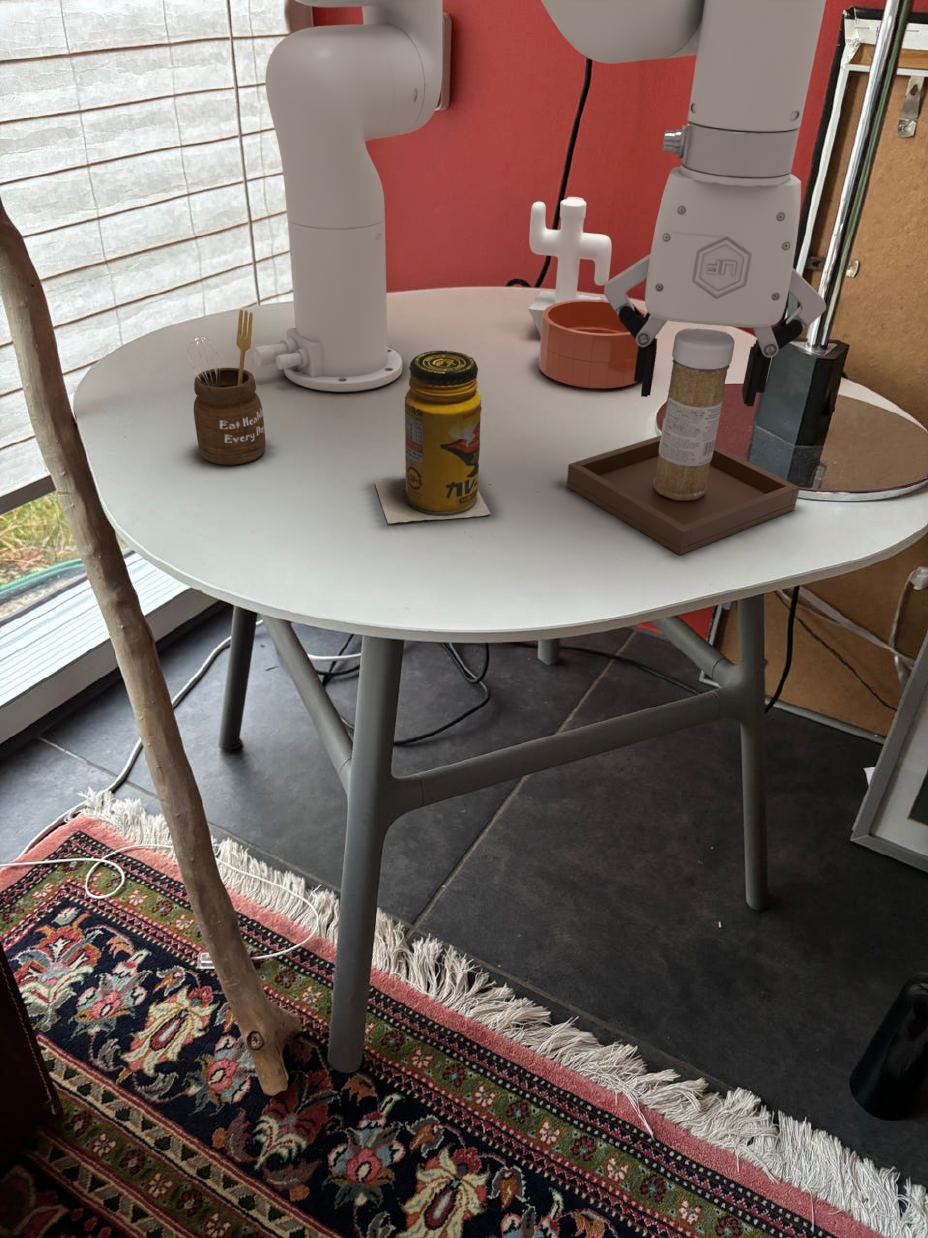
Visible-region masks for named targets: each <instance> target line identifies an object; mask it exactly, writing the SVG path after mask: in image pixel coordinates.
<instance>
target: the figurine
mask: <svg viewBox="0 0 928 1238" xmlns="http://www.w3.org/2000/svg"><path fill="white" fill-rule="evenodd" d="M559 208H560V209H559V217H560V220H561V221H560V228H559V229H549V228H547V225H546V214H547V206H546V204H545V203H544V202H542V201H535V202H534V203H533V204H532V205H531V208H530V221H529V239H528V240H529V242H528V243H529V249H530V251H531V253H533V254H535V255H540V256H548V257H549V256H550V257H554V258H555V257H556V258H557V268H556V280H555V291H548V290H540V291H539V293H538V294H537V296H536V297H535V298H534V300H533V302H532V303H531V304H530V306H529V307H528V311H529V314H530V316H531V318H532V320H533V323H534V325H535V327H536V329H537V332H538V333H539V336H540V337H541V325H542V313H543V311H544V310H545V309H546V308H547V307H549V306H551V305H553V304H556V303H560V302H565V301H570V300H585V299H586V300H601V297H600V296H593V295H583V294H578V283H579V274H580V263H581V260H589V261H593V263H594V277H593V281H594V284H595V285H596V286H598V287H599V286H601V287H602V286H603V287H604V286H605V284H606V282H607V281H609V280H610V279H609V277H610V272H611V271H610V270H611V261H612V252H613V251H612V249H613V247H612V246H613V245H612V240H611V238H610V237H609V236H608V235H606V234H601V233H600V234H599V233H590V232H589V233H588V232H584V222H585V219H586V216H587V215H586V214H587V213H586V212H587V202H586V201H585V200H584V198H583V197H578V196H567V197H566V198H565V199H563V200H561V201H560V207H559Z"/></svg>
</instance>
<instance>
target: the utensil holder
mask: <svg viewBox="0 0 928 1238" xmlns="http://www.w3.org/2000/svg"><path fill="white" fill-rule="evenodd" d="M253 314H254V313H253V312H252V311H250V312H249V311H248V310H245V311H244V310H243V308H240V309H239V313H238V323H237V331H236V332H237V333H236V342H235V343H236V346H237V348H238V349H239V351H240V352H239V353H240V354H239V366H238V367H221V363H220V362H218V361H220V359H219V356H218V352H217V350H216V347H215V345H214V344H213V343H212V342H211V340H210V339H209V338H207V336H204V337H202V338H201V336H197V337H193V338H192V339H191V340H190V341H189V343H188V344H187V348H186V349H187V350H186V352H187V356H188V359H189V362H190V365H191V368H192V370H193V371H194V374H195V375H196V377H194V382H193V383H194V384H193V390H194V394H195V395H196V397H195V399H194V402H193V418H194V426H195V432H196V433H195V434H196V440H197V445H198V449H199V452H200V454H201V457H203V458H204V460H206V461H208V462H210V463H213V464H217V465H225V466H233V465H241V464H247V463H249V462H252V461H255V460H257V459H258V458H259V457H261V456H262V455H263V454H264V452H265V450H266V429H265V420H264V412H263V406H262V402H261V399H260V397H259V395H258V394H257V393H256V391H257V383H256V380H255V377H254V374H252V372H251V371H249V370H247V369H245V358H246V352H247V351H249V350H250V349H251V346H252V335H253V333H252V332H253V318H254V315H253ZM202 339H204V340H205V341H206V340H207V341H208V342H209V343H210V345H211V348H212V351H213V355H214V359H215V363H214V359H213V356H212V354H211V351H210V349H209V346H208V345H207V344H206V342H203V340H202ZM195 340H196V341H197V343H199V340H200V343H201V346H202V349H203V352H204V355H205V360H206V364H207V367H208V369H207V370H205V366H204V362H203V359H202V355H201V351H200V347H199V345H197V349H198V354H199V357H200V360H201V364H202V368H203V370H204V371H202V369H201V368H200V365H199V363H198V360H197V357H196V354H195V350H194V347H193V345H194V343H195ZM190 343H191V345H190ZM203 343H204V344H203ZM204 345H205V346H206V348H207V350H208V351H209V354H210V357H211V360H212V364H213V367H214V368H211V369H210V365H209V362H208V361H209V360H208V357H207V354H206V351H205V348H204ZM189 346H190V349H192V351H193V356H194V358H195V362H196V364H197V366H198V369H199V371H200V373H198V372H197V370H196V367H195V365H194V364H195V363H194V360H193V357H192V355H190V354H189ZM217 360H218V361H217ZM215 365H216V366H215ZM218 365H219V367H218Z"/></svg>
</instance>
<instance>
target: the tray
mask: <svg viewBox="0 0 928 1238" xmlns="http://www.w3.org/2000/svg"><path fill="white" fill-rule="evenodd" d="M660 439H661V435H658V436H655V437H651V438H648V439H645V440H641V441H638V442H635V443H632V444H628V445H625V446H623V447H619V448H615V449H613V450H609V451H607V452H606V451H605V452H602V453H600V454H596V455H593V456H591V457H587V458H584V459H581V460H578V461H575V462H572V463H569V464H568V466H567V477H566V487H568V488H569V489H570V490H573V491H574V492H576V493H577V494H579V495H580V496H582V497H584V498H585V499H587V500H589V501H590V502H592V503H593V504H595V505H597V506H598V507H600V508H601V509H603V510H605V511H606V512H608V513H610V514H612V515H613V516H615V517H617V518H618V519H620V520H621V521H623V522H624V523H626V524H628V525H629V526H631V527H633V528H634V529H636V530H638V531H639V532H641V533H642V534H644V535H646V536H647V537H649V538H650V539H653V540H654V541H655V542H657V543H659V544H660V545H661V546H664V547H665V548H667V549H669V550H670V551H672V552H673V553H675V554H677V555H678V556H681V555H684V554H687V553H689V552H692V551H693V550H697V549H699V548H701V547H704V546H707V545H709V544H711V543H714V542H716V541H718V540H721V539H725V538H727V537H728V536H732V535H734V534H737V533H739V532H742V531H744V530H747V529H749V528H752V527H754V526H757V525H759V524H761V523H764V522H766V521H769V520H772V519H774V518H776V517H779V516H782V515H785V514H787V513H789V512H792V511H794V510H795V509H796V506H797V500H798V498H799V493H800V490H801V487H800V486H798V485H796V484H794V483H792V482H790V481H788V480H786V479H784V478H781V477H780V476H777V475H776V474H774V473H772V472H770V471H768V470H765V469H764V468H762V467H760V466H758V465H756V464H753V463H751V462H749V461H747V460H746V459H743V458H741V457H740V456H737V455H736V454H733V453H732V452H729V451H728V450H725V449H723V448H721V447H719V446H717V445H714V450H713V455H712V459H711V461H710V466H709V472H708V477H707V482H706V485H707V490H706V493H705V494H704V495H703V496H702V497H701V498H699V499H696V500H691V501H677V500H672V499H669V498H667V497H664V496H662V495H661V494H659V493H658V492H657V491H656V490H655V489H654V486H653V481H654V479H655V477H656V470H657V464H658V458H659V445H660Z"/></svg>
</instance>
